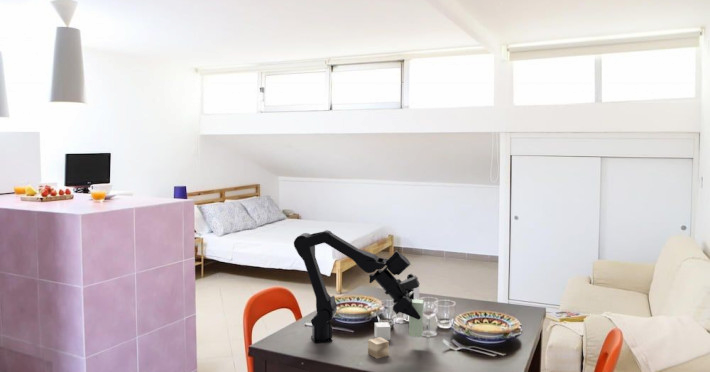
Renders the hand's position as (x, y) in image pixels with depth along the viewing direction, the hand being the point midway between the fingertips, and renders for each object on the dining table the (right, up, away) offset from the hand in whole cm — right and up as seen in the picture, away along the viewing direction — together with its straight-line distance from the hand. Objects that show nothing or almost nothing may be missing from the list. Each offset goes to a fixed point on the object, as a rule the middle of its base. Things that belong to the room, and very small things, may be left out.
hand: (420, 316), depth 194 cm
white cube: (-13, -10, +10) cm, 19 cm away
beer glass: (0, -9, +31) cm, 32 cm away
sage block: (-1, -7, +1) cm, 7 cm away
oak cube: (-15, -12, -6) cm, 20 cm away
